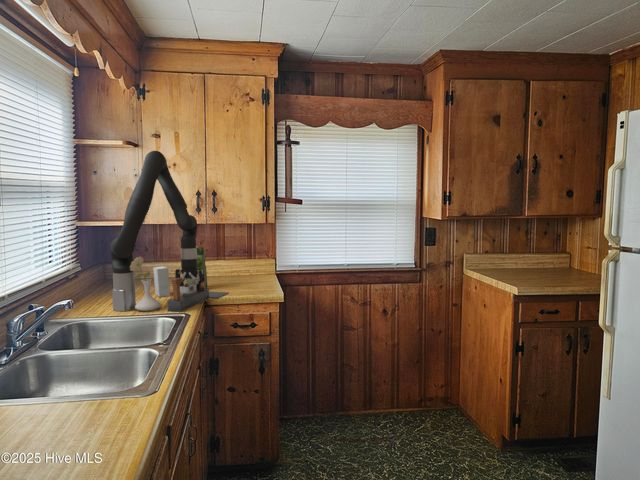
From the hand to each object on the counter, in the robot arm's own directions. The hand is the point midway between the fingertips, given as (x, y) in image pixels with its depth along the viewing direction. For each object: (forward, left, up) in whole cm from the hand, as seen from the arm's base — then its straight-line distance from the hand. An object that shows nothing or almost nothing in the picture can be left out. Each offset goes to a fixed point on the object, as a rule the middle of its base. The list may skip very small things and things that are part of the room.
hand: (190, 291), depth 228 cm
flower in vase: (-14, +14, -7) cm, 21 cm away
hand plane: (-1, 0, -6) cm, 7 cm away
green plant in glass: (+31, +15, -7) cm, 35 cm away
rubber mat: (+20, -1, -6) cm, 21 cm away
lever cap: (0, 0, 0) cm, 0 cm away
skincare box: (+14, +25, -7) cm, 29 cm away
